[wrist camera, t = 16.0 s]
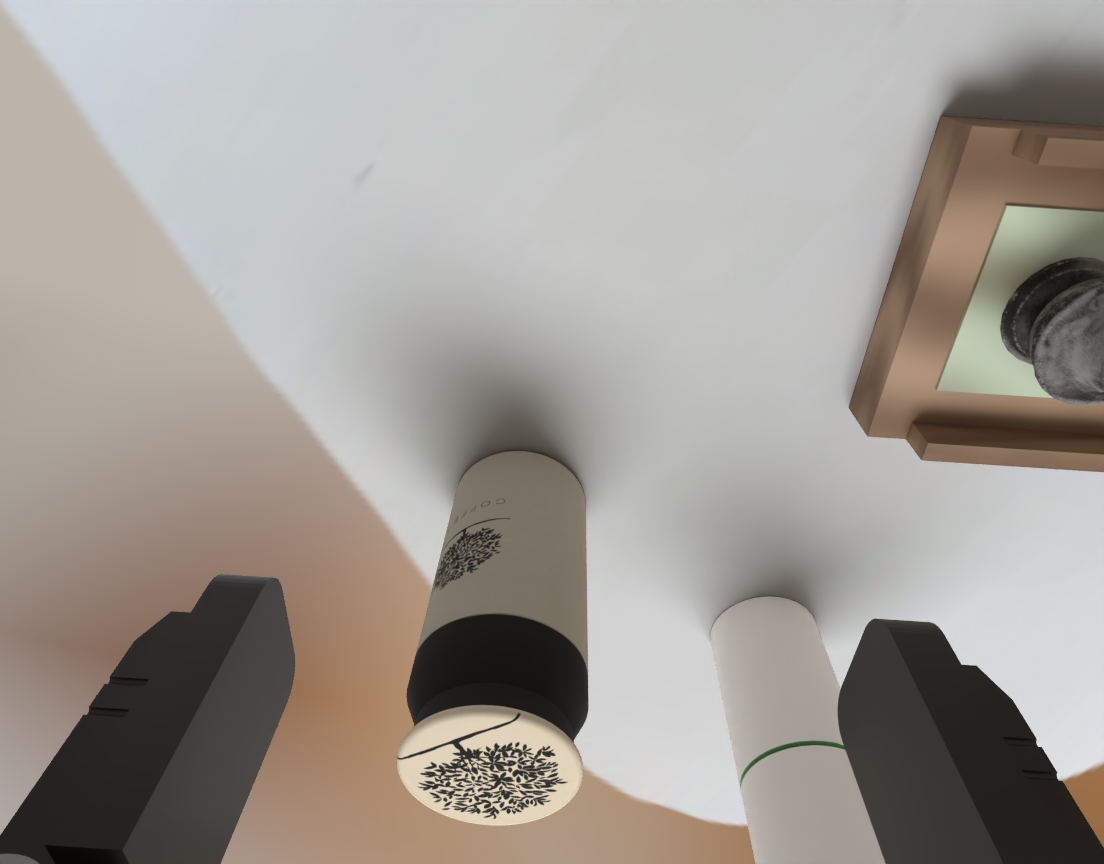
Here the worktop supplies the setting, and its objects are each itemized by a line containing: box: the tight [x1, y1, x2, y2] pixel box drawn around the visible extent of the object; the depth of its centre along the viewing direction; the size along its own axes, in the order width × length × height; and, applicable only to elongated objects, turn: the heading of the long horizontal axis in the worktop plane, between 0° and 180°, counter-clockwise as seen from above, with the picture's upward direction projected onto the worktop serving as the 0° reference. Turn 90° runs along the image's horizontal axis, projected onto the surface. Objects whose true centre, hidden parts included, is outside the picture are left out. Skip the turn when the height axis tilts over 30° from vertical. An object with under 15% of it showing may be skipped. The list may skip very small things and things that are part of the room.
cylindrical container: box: [710, 596, 886, 864], centre depth 38 cm, size 7×7×25 cm
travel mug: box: [397, 451, 588, 825], centre depth 36 cm, size 8×8×18 cm
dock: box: [849, 116, 1104, 472], centre depth 34 cm, size 15×14×5 cm
